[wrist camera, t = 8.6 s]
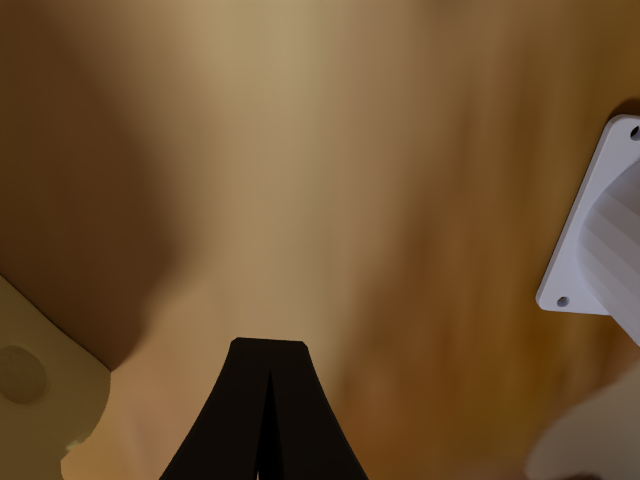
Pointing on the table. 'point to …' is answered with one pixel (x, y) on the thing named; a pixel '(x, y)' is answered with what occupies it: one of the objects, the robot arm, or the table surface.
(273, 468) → the robot arm
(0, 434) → the cheese
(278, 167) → the table surface
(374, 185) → the table surface
